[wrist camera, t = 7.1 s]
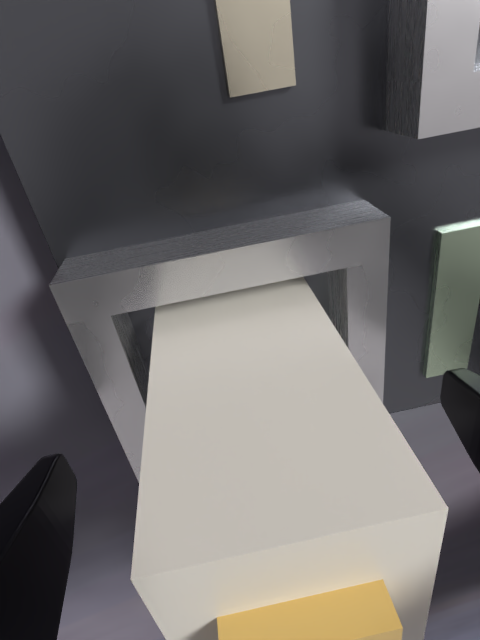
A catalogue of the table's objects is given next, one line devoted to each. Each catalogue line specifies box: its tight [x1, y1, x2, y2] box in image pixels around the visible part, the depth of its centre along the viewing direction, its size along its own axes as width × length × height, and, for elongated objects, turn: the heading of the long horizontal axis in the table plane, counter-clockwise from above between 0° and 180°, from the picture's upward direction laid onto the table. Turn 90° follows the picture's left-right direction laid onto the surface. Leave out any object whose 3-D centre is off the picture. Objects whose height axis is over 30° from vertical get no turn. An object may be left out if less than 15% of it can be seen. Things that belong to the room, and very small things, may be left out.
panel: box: [0, 0, 480, 482], centre depth 9 cm, size 18×16×3 cm
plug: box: [131, 277, 449, 640], centre depth 9 cm, size 4×4×8 cm
